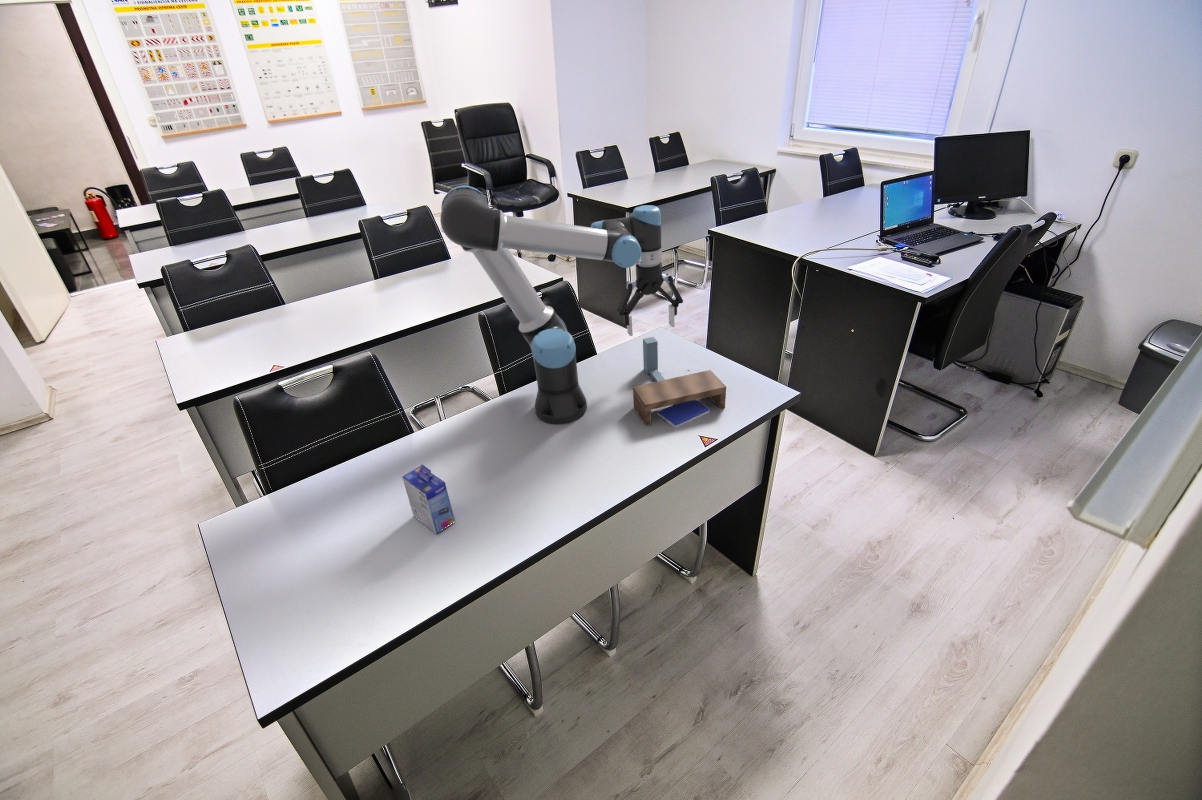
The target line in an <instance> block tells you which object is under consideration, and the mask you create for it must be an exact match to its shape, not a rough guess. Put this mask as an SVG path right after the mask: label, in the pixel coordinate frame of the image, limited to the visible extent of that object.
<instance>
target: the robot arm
mask: <svg viewBox="0 0 1202 800" xmlns="http://www.w3.org/2000/svg"><path fill="white" fill-rule="evenodd" d="M440 207H441V212H440V219H439V220H440V226H441V228H442V232H443V233H444V235H445V236H446V237H447V238H448V239H449V240H450V241H451V242H452V243H454V244H456V245H458V246H460V247H461V248H462V250H463V251H464V252H468V253H471V254H473V255H474V257H475V259H477V261H478V263H479V265H480V266H481V267H482V269H483V270H484V271H485V273H486V275H487V277H489V279H490V281H492V283H493V284H494V286H495V288H496V289H497V291H498V292H499V293H500V295H501V297H502V298H503V299H504V301H505V302H506V304H507V305H508V307H509V308H510V310H512V312H513V314H514V315H515V317H516V319H517V320H518V321H519V325H518V331H519V332H520V334H521V335H522V336H523V338H524V339H525V341H526V342H527V344H528V345H529V347H530V351H531V354H532V359H533V363H534V370H535V376H536V383H537V393H536V398H535V400H534V401H535V402H534V411H535V415H536V417H537V418H538V419H539V420H540V421H543V422H545V423H548V424H552V425H553V424H554V425H561V424H568V423H571V422H574V421H576V420H578V419H580V418H581V417H583V416H584V415H585V414H586V412H587V409H588V404H587V403H588V402H587V398H586V396H585V393H584V392H583V389H582V388H581V386H580V384H579V374H578V366H577V356H576V355H577V354H576V350H577V349H576V348H577V347H576V344H575V339H574V338H573V336H572V334H571V333H570V332H569V331H568V328H567V325H566V324H565V322H564V321H563V319H562V318H561V317H560V316H559V315H558V314H557V312H556V311H555V310H554V308H553V307H552V306H549V305H545V304H544V302H543V300H542V299H541V297H540V296H539V294H538V293H537V291H536V289H535V288H534V286H533V285H532V283H531V282H530V280H529V279H528V277H527V275H526V274H525V272H524V271H523V269H522V268H521V266H520V265H519V263H518V262H517V260H516V258H515V256H514V255H513V254H512V252H511V250H517V251H518V250H519V251H527V252H533V253H534V252H535V253H541V254H542V253H543V254H548V255H549V254H550V255H558V256H566V257H573V258H581V259H589V260H590V259H591V260H597V261H604V262H605V261H606V262H612V263H613V262H614V264H615V265H617V266H619V267H620V268H625V269H627V268H632V267H634V266H635V277H636V279H635V281H633V282H630V281H629V280H628V281H627V280H626V282H625V289H624V292H623V295H622V296H621V299H620V301H619V304H618V306H617V309H616V312H617V314H618V315H619V316H622V317H623V325H625V326H626V329H627V330H626V331H627V334H628V336H630V337H632V336H633V335H634V334H633V333H634V332H633V318H632V315H631V313H632V311H633V310H634V309H635V307H636V306H637V304H638V303H639V302H640V300H641V299H642V298H644V296H649V295H652V294H653V295H654V294H655V295H656V294H657V293H658V292H659V293H660V294H661V295H662V296H663V297H664V298H665V299H666V300H667V301H668V302H669V303H668V324H669V326H670V327H671V328H675V325H676V324H675V316H677V315H678V307H679V305H680V304H683V303H684V299H683V297H682V296H681V294H680V292H679V290H678V288H677V287H676V285H675V283H674V278H673V277H674V276H672V275H671V274H670V273H666V274H665V275H664V276H663V263H662V262H663V261H662V260H663V257H662V255H663V249H662V248H663V247H662V225H663V224H662V216H661V215H662V214H661V209H660V208H659V207H658V206H656V205H650V204H649V205H647V204H646V205H645V204H644V205H640V206H636V207H635V208H634V209H633V211H632V216H628V217H627V216H626V217H619V218H614V219H602V220H599V221H594V222H592V223H591V225H590V226H589V227H588V226H583V225H576V224H575V225H574V224H566V223H562V222H553V221H547V220H541V219H534V218H525V217H521V216H519V217H518V216H514V215H513V216H511V215H506V214H505V213H504V212H503V211H502V209H495V208H490V207H489V203H488V200H487V199H486V196H485V195H484V194H483V192H481V191H480V190H479V189H477V188H475V187H473V186H470V185H459V186H456V187H453V188H452V189H451V190H449V191H448V192H447V193H446V194H445V196H444V197H443V198H442V202H441V206H440ZM510 249H511V250H510ZM664 282H665V284H667V285H668V287H669V289H670V291H671V292H672V294H673V296H674V298H675V299H674V298H673V297H672V296H671V295H669V293H667V291H665V289H663V287H662V286H663V284H664ZM635 288H636V290H635ZM634 290H635V292H634V294H633V295H632V293H633V291H634ZM631 296H632V297H631Z"/></svg>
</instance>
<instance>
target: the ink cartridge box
mask: <svg viewBox="0 0 1202 800" xmlns="http://www.w3.org/2000/svg"><path fill="white" fill-rule="evenodd" d="M401 478H402V481H403V485H404V488H405V491H406V492H405V493H406V495H407V498H408V501H409V505H410V508H411V512H412V515H413V517H414V516H415V517H417V518H418V519H419V520H420V521H421V522H420V521H419V520H418V519H417V518H416V519H417V520H418V521H419V522H420V523H422V522H423V523H424V524H425V525H426V526H425V525H424V524H423V523H422V524H423V525H424V526H425V527H427V526H428V527H429V528H430V529H431V530H430V529H429V528H428V527H427V528H428V529H429V530H430V531H432V530H433V531H434V532H435V533H438V532H439V531H441V530H442V529H444V528H445V527H447V526H448V525H450V524H451V523H453V522H454V521H455V522H456V520H455V519H456V518H455V516H454V512H453V508H452V504H451V500H450V496H449V493H448V489H447V488H448V487H447V486H446V482H445V481H444V480H443V479H441V478H440V477H438V476H437V475H435V474H434V473H432V470H431V469H429V467H426V466H425V465H424V464H420V466H418V467H416V468H414V469H413V470H411V471H409V472H408V473H406V474H405V475H403V476H402V477H401ZM415 517H414V518H415ZM447 528H448V527H447ZM444 530H445V529H444ZM433 531H432V532H433ZM434 532H433V533H434ZM441 532H442V531H441ZM435 533H434V534H435ZM439 533H440V532H439ZM439 533H438V534H439Z"/></svg>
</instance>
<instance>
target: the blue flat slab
mask: <svg viewBox="0 0 1202 800" xmlns="http://www.w3.org/2000/svg"><path fill="white" fill-rule="evenodd" d="M710 412H711V411H710V408H709V407H708V406H706V405H705V404H704V403H702V402H700V401H699V400H698V399H696V400H692V401H687V402H683V403H679V404H674V405H670V406H666V407H664V409H663V408H662V409H661V410H658V411H657V412H656V414H657V415H658V416H659V417H661V418H662V419H663V420H664V421H666V423H669V424H670V425H671V426H672V427H674V428H677V427H680V426H681V425H684V424H687V423H688V422H691V421H693V420H694V419H697V418H699V417H701V416H704V415H705V414H709V413H710Z"/></svg>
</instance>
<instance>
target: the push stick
mask: <svg viewBox="0 0 1202 800" xmlns="http://www.w3.org/2000/svg"><path fill="white" fill-rule="evenodd" d="M658 342H659V341H658V340H657V339H656V338H655V336H651V337H645V338H642V354H643V355H642V356H643V358H642V359H643V360H642V361H643V370H644V372H645V371H646V372H645V374H646V375H649V374H650V375H649V376H650V377H651V378H653V379H654V380H653V379H652V380H653V381H654V382H657V381H662V380H666V379H665V377H664V376H663V375H662V374H661V373H660V371H659V362H658V361H659V357H658V356H659V354H658V353H659V352H658V349H659V348H658V346H659V345H658Z"/></svg>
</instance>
